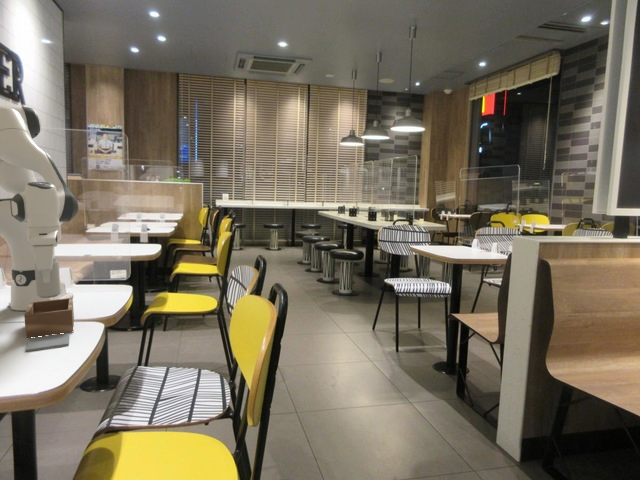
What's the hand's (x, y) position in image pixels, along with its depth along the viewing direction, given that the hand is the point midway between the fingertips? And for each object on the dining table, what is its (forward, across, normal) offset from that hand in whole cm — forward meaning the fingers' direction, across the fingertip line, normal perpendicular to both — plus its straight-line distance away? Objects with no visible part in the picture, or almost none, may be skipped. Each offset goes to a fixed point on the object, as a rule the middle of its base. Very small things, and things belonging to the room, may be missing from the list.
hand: (47, 279), depth 136 cm
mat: (+15, +16, 0) cm, 22 cm away
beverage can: (+6, 0, 0) cm, 6 cm away
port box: (+15, +1, 0) cm, 15 cm away
